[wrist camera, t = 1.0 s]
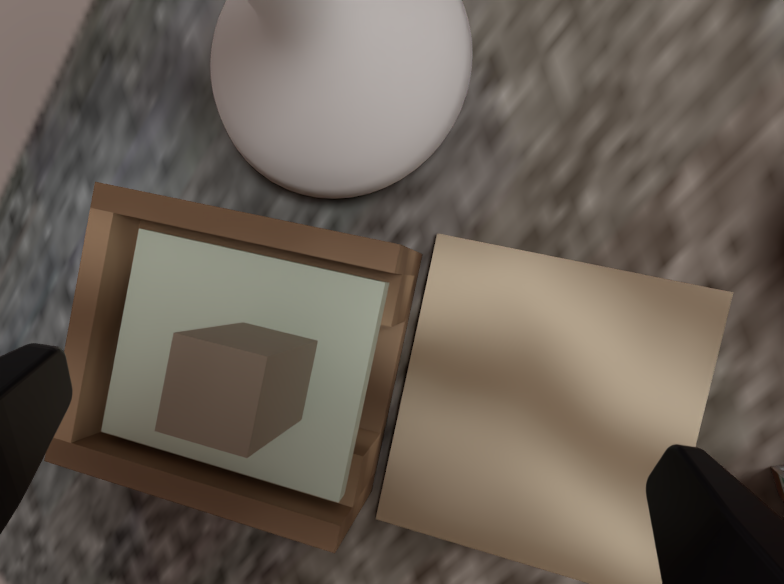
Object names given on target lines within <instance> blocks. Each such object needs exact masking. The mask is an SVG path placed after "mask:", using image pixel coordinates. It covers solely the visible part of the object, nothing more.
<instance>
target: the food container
mask: <svg viewBox="0 0 784 584" xmlns="http://www.w3.org/2000/svg"><path fill="white" fill-rule="evenodd" d="M771 470H772V474H773V477H774V481H775V484H776V487H777V491H778V494H779V496H780V498H781V499H782V501H783V502H784V465H780V466H771Z"/></svg>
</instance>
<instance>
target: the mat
mask: <svg viewBox="0 0 784 584" xmlns="http://www.w3.org/2000/svg"><path fill="white" fill-rule="evenodd" d="M732 296H733V292H728V291H723V290H718V289H713V288H708V287H703V286H698V285H693V284H688V283H683V282H678V281H673V280H668V279H663V278H658V277H653V276H648V275H643V274H638V273H633V272H628V271H623V270H618V269H613V268H608V267H603V266H598V265H593V264H588V263H583V262H578V261H573V260H568V259H563V258H558V257H553V256H548V255H543V254H538V253H533V252H528V251H523V250H518V249H513V248H508V247H503V246H498V245H493V244H487V243H482V242H477V241H472V240H467V239H462V238H457V237H452V236H447V235H442V234H437V237H436V242H435V246H434V251H433V256H432V260H431V265H430V270H429V274H428V279H427V284H426V288H425V293H424V297H423V302H422V307H421V311H420V316H419V321H418V325H417V330H416V334H415V339H414V344H413V348H412V353H411V358H410V362H409V367H408V371H407V376H406V381H405V385H404V390H403V395H402V399H401V404H400V409H399V413H398V418H397V422H396V427H395V432H394V436H393V441H392V446H391V450H390V455H389V459H388V464H387V469H386V473H385V478H384V483H383V487H382V492H381V497H380V501H379V506H378V510H377V515H376V519H377V520H380V521H384V522H387V523H390V524H394V525H397V526H400V527H404V528H407V529H410V530H413V531H417V532H420V533H423V534H427V535H430V536H433V537H437V538H440V539H443V540H447V541H450V542H453V543H457V544H460V545H463V546H466V547H470V548H473V549H476V550H480V551H483V552H486V553H490V554H493V555H496V556H500V557H503V558H506V559H510V560H513V561H516V562H520V563H523V564H526V565H529V566H533V567H536V568H539V569H543V570H546V571H549V572H553V573H556V574H559V575H563V576H566V577H569V578H573V579H576V580H579V581H582V582H586V583H589V584H662V579H661V574H660V569H659V563H658V558H657V552H656V547H655V541H654V536H653V530H652V525H651V519H650V514H649V508H648V503H647V497H646V482H647V479H648V476H649V475H650V473H651V472H652V470H653V469H654V467H655V466H656V464H657V463H658V461H659V460H660V458H661V457H662V455H663V453H664V452H665V450H666V449H667V448H668V447H669V446H671V445H673V444H680V445H686V446H692V447H695V446H696V442H697V438H698V434H699V430H700V426H701V422H702V418H703V414H704V410H705V406H706V402H707V397H708V393H709V389H710V385H711V381H712V377H713V373H714V369H715V365H716V361H717V357H718V353H719V349H720V345H721V341H722V336H723V332H724V328H725V324H726V320H727V316H728V312H729V308H730V304H731V300H732Z"/></svg>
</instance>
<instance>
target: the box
mask: <svg viewBox="0 0 784 584" xmlns="http://www.w3.org/2000/svg"><path fill="white" fill-rule="evenodd" d="M139 229H145V230H152V231H156V232H161V233H165V234H170V235H174V236H179V237H184V238H188V239H193V240H197V241H202V242H206V243H211V244H215V245H220V246H225V247H229V248H234V249H238V250H243V251H247V252H252V253H256V254H261V255H266V256H270V257H275V258H279V259H284V260H288V261H293V262H297V263H302V264H307V265H311V266H316V267H320V268H325V269H329V270H334V271H338V272H343V273H348V274H352V275H357V276H361V277H366V278H370V279H375V280H379V281H384V282H389V287H388V292H387V297H386V301H385V306H384V311H383V316H382V320H381V325H380V330H379V334H378V339H377V344H376V349H375V353H374V358H373V363H372V367H371V372H370V377H369V382H368V386H367V391H366V396H365V400H364V405H363V410H362V414H361V419H360V424H359V429H358V433H357V438H356V443H355V447H354V452H353V457H352V462H351V466H350V471H349V476H348V480H347V485H346V490H345V494H344V496H343V497H342V499H341V500H340V501H339V503H338V502H335V501H331V500H328V499H325V498H321V497H318V496H315V495H311V494H308V493H305V492H301V491H298V490H295V489H291V488H288V487H285V486H281V485H278V484H275V483H271V482H268V481H265V480H261V479H258V478H255V477H251V476H248V475H245V474H241V473H238V472H235V471H231V470H228V469H225V468H221V467H218V466H215V465H211V464H208V463H205V462H201V461H198V460H195V459H191V458H188V457H185V456H181V455H178V454H175V453H171V452H168V451H165V450H161V449H158V448H155V447H151V446H148V445H145V444H141V443H138V442H135V441H131V440H128V439H125V438H121V437H118V436H115V435H111V434H108V433H105V432H101V429H102V424H103V418H104V413H105V408H106V402H107V397H108V392H109V386H110V381H111V376H112V370H113V365H114V360H115V354H116V349H117V344H118V338H119V333H120V327H121V322H122V317H123V311H124V306H125V301H126V295H127V290H128V285H129V279H130V274H131V269H132V263H133V258H134V253H135V247H136V242H137V237H138V231H139ZM421 259H422V254H421V253H419V252H416V251H414V250H412V249H409V248H407V247H405V246H402V245H400V244H395V243H390V242H385V241H380V240H376V239H371V238H366V237H361V236H356V235H351V234H346V233H342V232H337V231H332V230H327V229H322V228H317V227H312V226H308V225H303V224H298V223H293V222H288V221H283V220H278V219H273V218H269V217H264V216H259V215H254V214H249V213H244V212H239V211H235V210H230V209H225V208H220V207H215V206H210V205H205V204H201V203H196V202H191V201H186V200H181V199H176V198H171V197H167V196H162V195H157V194H152V193H147V192H142V191H137V190H133V189H128V188H123V187H118V186H113V185H108V184H103V183H99V182H95V185H94V191H93V196H92V202H91V207H90V213H89V218H88V224H87V229H86V235H85V240H84V246H83V251H82V257H81V262H80V268H79V273H78V279H77V284H76V290H75V295H74V301H73V306H72V312H71V317H70V323H69V328H68V334H67V339H66V345H65V350H64V352H65V355H66V359H67V364H68V369H69V374H70V378H71V383H72V389H73V393H72V400H71V403H70V405H69V408H68V410H67V412H66V414H65V416H64V418H63V420H62V422H61V424H60V426H59V428H58V430H57V432H56V434H55V436H54V438H53V439H52V441H51V443H50V445H49V447H48V449H47V451H46V454H45V460H44V461H46V462H49V463H52V464H56V465H59V466H62V467H65V468H68V469H71V470H74V471H78V472H81V473H84V474H87V475H90V476H93V477H96V478H100V479H103V480H106V481H109V482H112V483H115V484H118V485H122V486H125V487H128V488H131V489H134V490H137V491H140V492H144V493H147V494H150V495H153V496H156V497H159V498H162V499H166V500H169V501H172V502H175V503H178V504H181V505H184V506H188V507H191V508H194V509H197V510H200V511H203V512H207V513H210V514H213V515H216V516H219V517H222V518H225V519H229V520H232V521H235V522H238V523H241V524H244V525H247V526H251V527H254V528H257V529H260V530H263V531H266V532H269V533H273V534H276V535H279V536H282V537H285V538H288V539H291V540H295V541H298V542H301V543H304V544H307V545H310V546H313V547H317V548H320V549H323V550H326V551H329V552H332V553H335V552H336V550H337V549H338V547H339V545H340V544H341V542H342V540H343V539H344V537H345V535H346V534H347V532H348V530H349V528H350V527H351V525H352V523H353V522H354V520H355V518H356V517H357V515H358V513H359V512H360V510H361V508H362V506H363V505H364V503H365V501H366V500H367V498H368V496H369V495H370V493H371V491H372V487H373V482H374V477H375V473H376V468H377V463H378V459H379V454H380V450H381V445H382V440H383V436H384V431H385V426H386V422H387V417H388V412H389V408H390V403H391V398H392V394H393V389H394V384H395V380H396V375H397V370H398V366H399V361H400V356H401V352H402V347H403V343H404V338H405V333H406V329H407V324H408V319H409V315H410V310H411V305H412V301H413V296H414V291H415V287H416V282H417V277H418V273H419V268H420V263H421Z"/></svg>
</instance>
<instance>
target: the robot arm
mask: <svg viewBox="0 0 784 584" xmlns="http://www.w3.org/2000/svg"><path fill="white" fill-rule="evenodd" d="M72 393H73V389H72V383H71V378H70V374H69V369H68V364H67V359H66V355H65V352H64V351H63V350H62V349H61V348H59V347H56V346H50V345H43V344H37V343H31V344H27V345H25V346H22V347H20V348H18V349H16V350H13V351H11V352H9V353H7V354H5V355H2V356H0V534H1V533H2V531H3V529H4V528H5V526H6V525H7V523H8V522H9V520H10V518H11V517H12V515H13V514H14V512H15V510H16V509H17V507H18V505H19V504H20V502H21V500H22V498H23V496H24V495H25V493H26V491H27V489H28V487H29V485H30V483H31V481H32V479H33V477H34V475H35V473H36V471H37V469H38V467H39V465H40V463H41V461H42V459H43V457H44V455H45V453H46V451H47V449H48V447H49V445H50V443H51V441H52V439H53V438H54V436H55V434H56V432H57V430H58V428H59V426H60V424H61V422H62V420H63V418H64V416H65V414H66V412H67V410H68V408H69V405H70V403H71V400H72ZM646 497H647V503H648V508H649V514H650V519H651V525H652V530H653V536H654V541H655V547H656V552H657V558H658V563H659V569H660V574H661V579H662V584H784V520H783V519H782V518H781V517H779V516H778V515H777V514H776V513H775V512H774V511H773V510H771V509H770V508H769V507H768V506H767V505H766V504H765V503H763V502H762V501H761V500H760V499H759V498H758V497H757V496H755V495H754V494H753V493H752V492H751V491H750V490H749V489H747V488H746V487H745V486H744V485H743V484H742V483H740V482H739V481H738V480H737V479H736V478H735V477H734V476H732V475H731V474H730V473H729V472H728V471H727V470H726V469H724V468H723V467H722V466H721V465H720V464H719V463H718V462H716V461H715V460H714V459H713V458H712V457H711V456H710V455H708V454H707V453H706V452H705V451H704V450H702V449H700V448H697V447H692V446H686V445H680V444H673V445H671V446H669V447H668V448H667V449H666V450H665V452H664V453H663V455H662V457H661V458H660V460H659V461H658V463H657V464H656V466H655V467H654V469H653V470H652V472H651V473H650V475H649V476H648V479H647V482H646Z"/></svg>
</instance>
